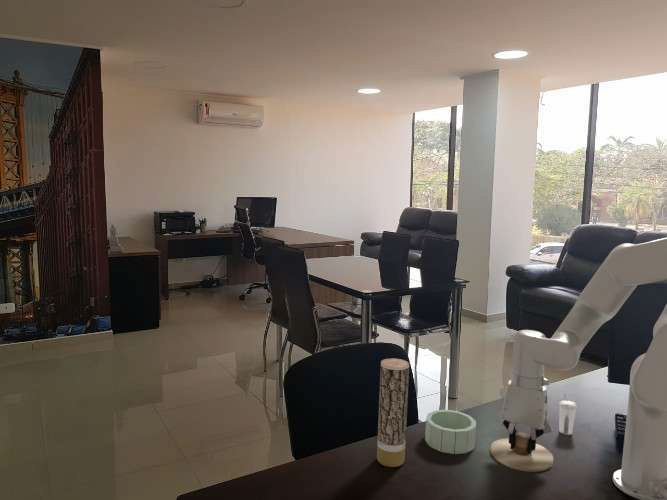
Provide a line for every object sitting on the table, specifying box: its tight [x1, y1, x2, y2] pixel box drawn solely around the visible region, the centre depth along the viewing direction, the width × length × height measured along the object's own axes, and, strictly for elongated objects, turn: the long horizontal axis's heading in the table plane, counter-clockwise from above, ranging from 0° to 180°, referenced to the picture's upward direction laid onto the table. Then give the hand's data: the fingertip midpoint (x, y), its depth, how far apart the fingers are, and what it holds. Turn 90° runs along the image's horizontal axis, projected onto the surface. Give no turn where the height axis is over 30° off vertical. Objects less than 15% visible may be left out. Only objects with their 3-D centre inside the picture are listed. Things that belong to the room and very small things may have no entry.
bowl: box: [424, 409, 477, 455], centre depth 140 cm, size 13×13×6 cm
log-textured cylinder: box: [376, 358, 410, 468], centre depth 128 cm, size 7×7×25 cm
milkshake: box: [558, 393, 578, 436], centre depth 147 cm, size 4×5×10 cm
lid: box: [490, 432, 554, 473], centre depth 133 cm, size 15×15×6 cm
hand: (521, 448), depth 133 cm, fingers closed on lid, 3 cm apart
